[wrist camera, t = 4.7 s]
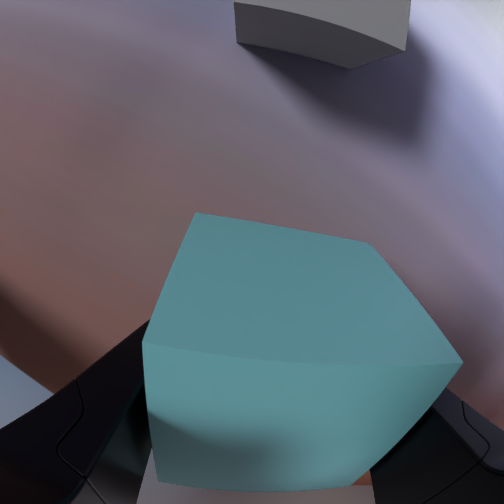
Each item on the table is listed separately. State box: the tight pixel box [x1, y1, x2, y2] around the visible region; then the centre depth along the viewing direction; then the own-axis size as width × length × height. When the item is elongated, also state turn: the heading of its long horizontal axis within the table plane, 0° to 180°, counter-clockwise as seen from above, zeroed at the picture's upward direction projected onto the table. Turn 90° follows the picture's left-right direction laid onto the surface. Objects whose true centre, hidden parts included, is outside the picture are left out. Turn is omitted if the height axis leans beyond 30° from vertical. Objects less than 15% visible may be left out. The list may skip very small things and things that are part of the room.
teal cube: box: [142, 213, 463, 492], centre depth 7 cm, size 5×5×5 cm
